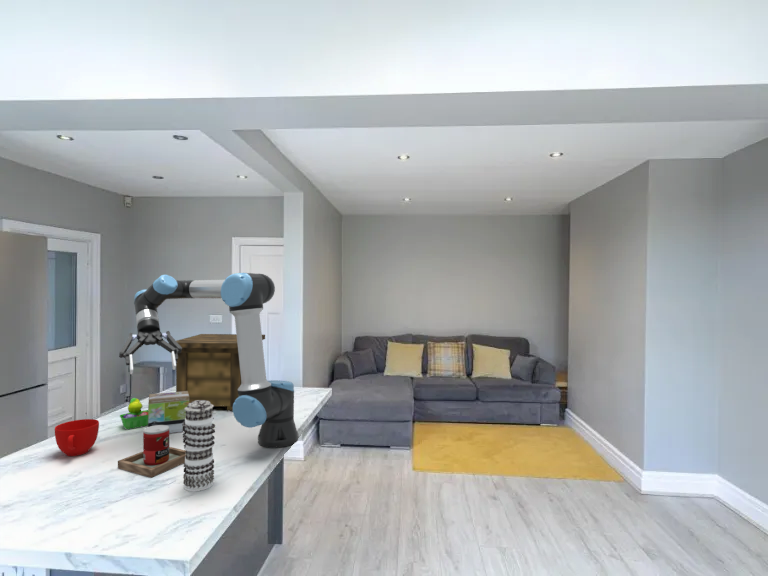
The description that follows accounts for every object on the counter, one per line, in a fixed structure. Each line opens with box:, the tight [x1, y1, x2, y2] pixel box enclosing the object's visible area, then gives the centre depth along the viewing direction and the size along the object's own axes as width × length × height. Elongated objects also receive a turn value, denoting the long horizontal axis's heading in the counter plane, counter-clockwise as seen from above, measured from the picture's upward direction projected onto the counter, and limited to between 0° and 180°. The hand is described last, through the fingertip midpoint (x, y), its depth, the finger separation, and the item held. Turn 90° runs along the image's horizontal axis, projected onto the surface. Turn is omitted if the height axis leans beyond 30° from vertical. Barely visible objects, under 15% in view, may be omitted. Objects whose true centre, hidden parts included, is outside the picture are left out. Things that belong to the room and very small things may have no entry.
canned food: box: [142, 425, 170, 465], centre depth 148 cm, size 8×8×11 cm
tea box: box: [147, 391, 189, 434], centre depth 181 cm, size 15×10×15 cm, turn 117°
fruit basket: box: [119, 397, 148, 430], centre depth 186 cm, size 11×9×11 cm
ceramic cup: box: [54, 418, 100, 457], centre depth 155 cm, size 13×17×10 cm
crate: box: [168, 333, 266, 412], centre depth 222 cm, size 35×35×33 cm
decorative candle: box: [182, 400, 216, 492], centre depth 132 cm, size 9×9×25 cm
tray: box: [117, 446, 186, 479], centre depth 147 cm, size 16×16×2 cm
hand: (153, 369), depth 156 cm, fingers open, 13 cm apart
